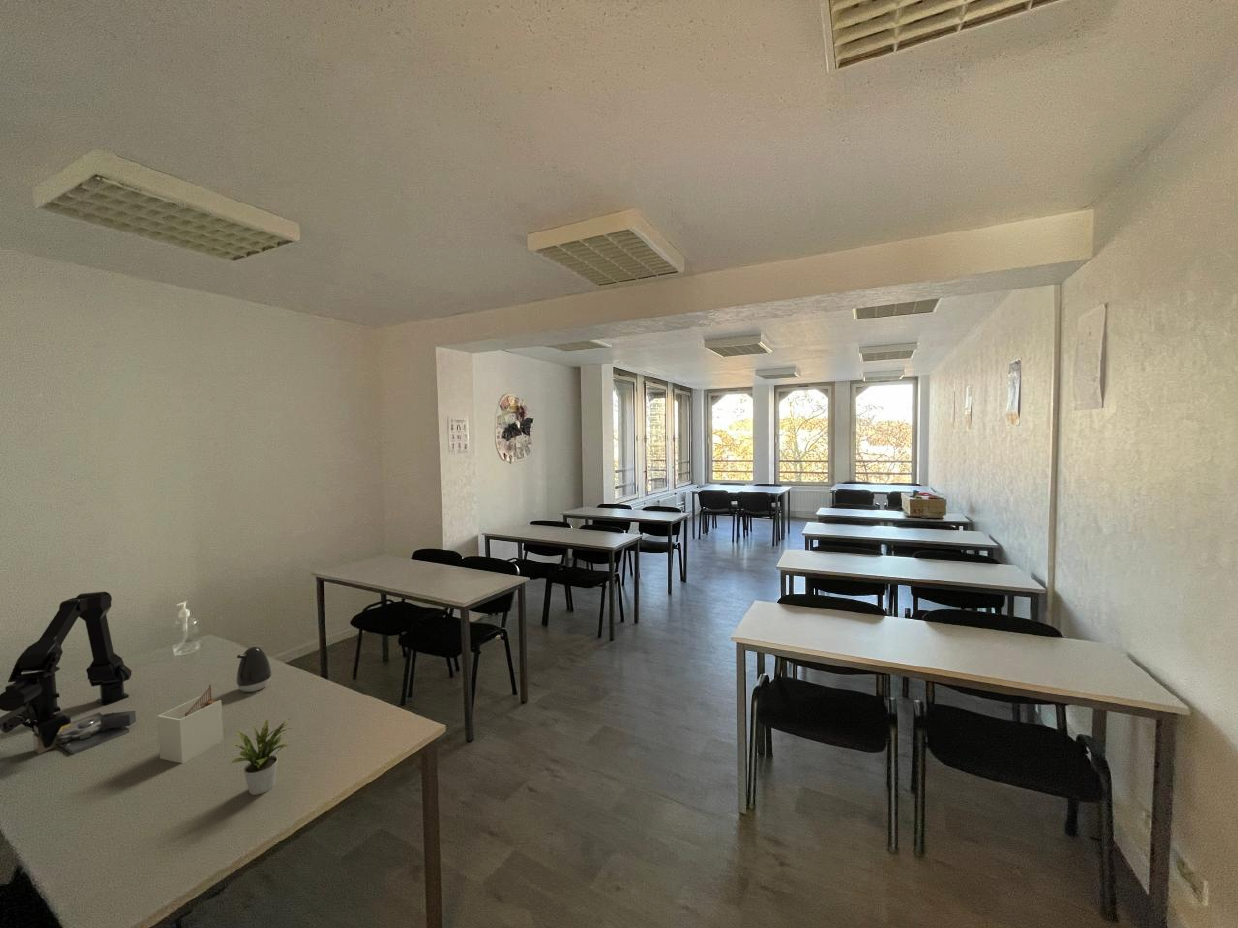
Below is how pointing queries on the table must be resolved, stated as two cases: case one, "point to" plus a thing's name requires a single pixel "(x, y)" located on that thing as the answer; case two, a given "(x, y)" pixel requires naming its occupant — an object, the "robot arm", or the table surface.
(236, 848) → the table surface
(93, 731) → the sprocket
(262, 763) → the house plant
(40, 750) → the striped gift box
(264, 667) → the pump dispenser
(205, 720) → the white planter box
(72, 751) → the base plate
